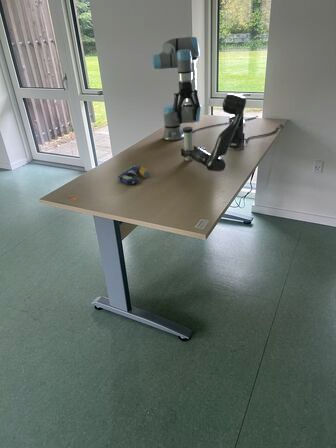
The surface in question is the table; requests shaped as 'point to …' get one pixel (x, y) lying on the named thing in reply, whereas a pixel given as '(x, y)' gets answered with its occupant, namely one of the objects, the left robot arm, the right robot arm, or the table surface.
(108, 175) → the table surface
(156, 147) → the table surface
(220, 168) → the right robot arm
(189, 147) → the bottle
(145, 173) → the spray gun
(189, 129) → the lid
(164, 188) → the table surface
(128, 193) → the table surface
